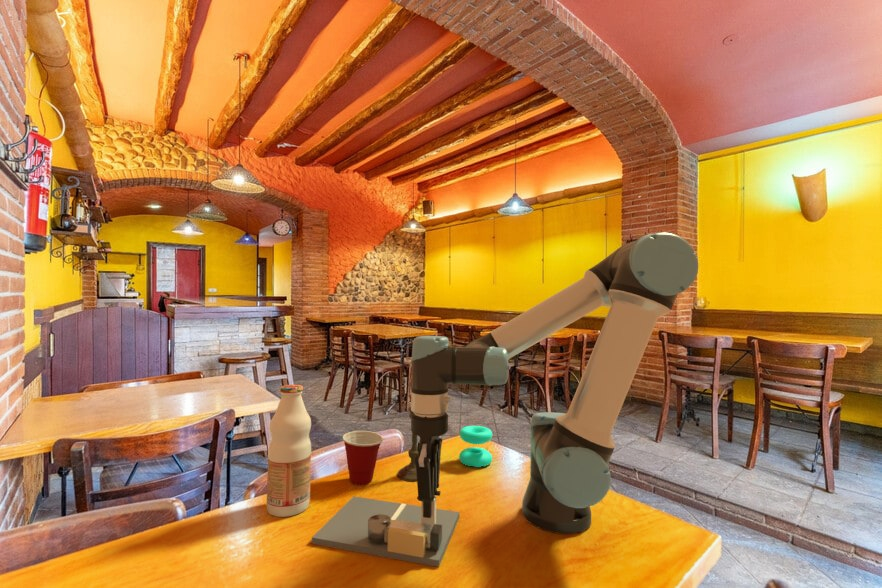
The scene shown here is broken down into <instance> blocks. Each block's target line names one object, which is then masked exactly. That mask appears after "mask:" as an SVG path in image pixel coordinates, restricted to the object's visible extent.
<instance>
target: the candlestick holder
mask: <svg viewBox="0 0 882 588" xmlns="http://www.w3.org/2000/svg"><path fill="white" fill-rule="evenodd" d="M408 411H409V412H410V413H409V416H408V417H409V419H410V420H411V415H412V413H413V412H412V411H411V406H409V407H408ZM418 437H419V436H418V435H415V434H413V433H412V432H411V441H412V442H411V448H410V449H409V450H408V451H407V452H408V457H409V458H410V462H409V463H408V464H406V465H404V466H403V467H402V468H400V469H399V470H398V472H397V477H399V479H401V480H403V481H406V482H417V472H416V465H415V457H416V456H417V457H419V453H418Z"/></svg>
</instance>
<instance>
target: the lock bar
mask: <svg viewBox="0 0 882 588" xmlns="http://www.w3.org/2000/svg"><path fill="white" fill-rule="evenodd" d="M390 527H392V528H398V529H404V530H410V531H416V532H422V533H425V548H429V549H433V550H439V547H440V544H441V542H442V525H438V524H434V525H428V524H421V523H414V522H406V521H399V520H391V518H390V517H389V516H387V515H383V514H378V515H374V516H372V517H370V518H369V519H368V540H369V541H371V542H373V543H383V542H387V543H388V530H389V528H390Z"/></svg>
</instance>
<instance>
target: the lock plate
mask: <svg viewBox="0 0 882 588" xmlns="http://www.w3.org/2000/svg"><path fill="white" fill-rule="evenodd" d="M378 514H383V515H387V516H389V517H390V518H391V520H399V521H406V522H414V523H421V505H414V504H409V503H407V504H406V503H400V502H395V501H393V502H392V501H388V500H387V501H386V500H382V499H373V498H367V497H362V496H361V497H360V496H352V497H351V498H350V499H349V500H348V502H346V503H345V504H344V505H343V506H342V507H341V508H340V509H339V510H338V511H337V512H336V513H335V514H334V515H333V516H331V518H330V519H329V520H328V521H327V522H326V523H325V524H324V525H322V527H321V528H319V530H318V531H316V533H314V535H313V536H312V537H311V544H313V545H316V546H317V545H318V546H323V547H329V548H334V549H338V550H345V551H350V552H355V553H360V554H361V553H362V554H366V555H372V556H378V557H382V558H387V559H391V560H392V559H393V560H398V561H404V562H408V563H414V564H415V563H416V564H421V565H424V566H431V567H437V568H439V567H440V565H441V563H442V560H443V558H444V556H445V553H446V551H447V549H448V546H449V544H450V541H451V539H452V536H453V534H454V532H455V529H456V527H457V524H458V522H459V519H460V511H456V510H455V511H454V510H447V509H440V508H436V524H438V525H442V542H441V544H440V547H439V550H433V549H429V548H425V533H422V532H416V531H410V530H404V529H398V528H392V527H390V528H389V530H388V543H387V542H383V543H373V542H371V541H369V540H368V519H369V518H370V517H372V516H374V515H378Z"/></svg>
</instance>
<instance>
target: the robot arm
mask: <svg viewBox="0 0 882 588" xmlns="http://www.w3.org/2000/svg"><path fill="white" fill-rule="evenodd" d="M698 259H699V258H698V256H697V254H696V253H695V250H694V248H693V246H692V245H691V244H690V243H689V242H688V241H687V240H685V239H684V238H683V237H682V236H679V235H677V234H674V233H669V232H656V233H649V234H645V235H643V236H641V237H639V238H638V239H637V240H633V241H631V242H629V243H625V244H623V245H622V246H620V247H619V248H617V249H615V250H614V251H613V252H611V253H610V254H609V255H608V256H606V257H605V258H604V259H602V260H601V261H599V262H598V263H597V264H594V266H592V267H591V268H589V269H586V271H585V272H584V276H583V277H582V278H581V279H579V280H577V281H575V282H574V283H572V284H570V285H568V286H567V287H565V288H563V289H562V290H559V291H558V292H557V293H555V294H553V295H551V296H549V297H547V298H546V299H544V300H543V301H541V302H539V303H538V304H536V305H534V306H532V307H531V308H529V309H527V310H526V311H524V312H522V313H520V314H519V315H518V316H515V317H513V318H512V319H510V320H508V321H507V322H505V323H504V324H501V325H500V326H498V327H497V328H495V329H493V330H492V331H490V332H489V333H487V334H484V335H483V336H481V337H479V338H477V339H473V340H471V341H470V342H469V343H467V344H466V346H454V345H450V342H449V341H450V340H449V338H448V337H447V336H445V335H442V336H441V335H420V336H417V337H415V338H414V339H412V348H411V349H412V350H411V358H410V361H411V393H410V394H411V395H410V399H411V400H410V407H411V411H412V412H413V413H412V415H411V419H410V431H411V434H412V433H413V434H415V435H417V436H418V437H419V438H420V439H419V442H417V447H418V453H419V457H417V456H416V457H415V465H416V472H417V481H416V484H417V497H416V499H417V500H418V501H419V502H420V503H421V505H420V506H421V524H428V525H434V524H436V509H437V497H439V496H441V491H439V490H438V489H439V487H440V474H441V473H440V472H441V471H440V470H441V455H442V445H443V444H442V443H443V438H441V436H444V435H446V434H447V433H448V431H449V414H448V413H447V412H448V410H449V403H450V402H451V401H452V398H451V397H450V396H448V395H449V384H451V385H479V386H482V385H483V386H486V385H487V386H489V387H492V386H499V385H500V386H501V385H505V384H507V382H508V379H509V359H512V358H513V357H515V356H517V355H518V354H520V353H522V352H523V351H525V350H527V349H529V348H530V347H533V346H535V345H536V344H537V343H540V342H541V341H543V340H545V339H547V338H548V337H550V336H552V335H553V334H555V333H556V332H559V331H560V330H562V329H564V328H565V327H567V326H569V325H571V324H572V323H575V322H576V321H578V320H580V319H581V318H583V317H585V316H586V315H588V314H591V313H592V312H594V311H595V310H597V309H599V308H601V307H606V308H609V310H608V312H607V315H606V317H605V319H604V322H603V325H602V328H601V329H600V331H599V335H598V336H597V339H596V341H595V344H594V347H593V349H592V352H591V354H590V356H589V359H588V361H587V363H586V366H585V369H584V371H583V373H582V376H581V378H580V381H579V383H578V386H577V388H576V391H575V393H574V396H573V398H572V401H571V402H570V406H569V407H568V409H567V412H566V413H565V412H551V411H550V412H548V411H547V412H542V411H541V412H537V413H534V414H533V415H532V416H531V420H530V425H529V428H530V468H529V469H530V475H529V476H530V477H529V481H528V484H527V486H526V487H527V488H526V490H525V493H524V496H523V499H522V504H521V507H522V508H521V509H522V511H521V512H522V516H523V517H524V519H525V520H526V521H527V522H529V524H531V525H532V526H534V527H537V528H539V529H542V530H544V531H547V532H551V533H555V534H567V535H568V534H577V533H581V532H584V531H587V530H588V529H589V528H590V527H591V524H592V510H591V506H592V507H593V506H595V505H597V504H599V503H600V502H601V501H602V500H603V499H604V498H605V497H606V496H607V494H608V492H609V491H610V487H611V484H612V483H611V482H612V480H611V479H612V476H611V471H610V468H609V462H610V461H611V458H612V456H613V453H614V451H615V448H616V443H615V441H614V439H613V436H612V431H613V429H614V426H615V424H616V422H617V419H618V417H619V415H620V411H621V410H622V408H623V405H624V402H625V400H626V397H627V395H628V392H629V390H630V387H631V385H632V382H633V380H634V378H635V377H636V376H635V375H636V373H637V370H638V368H639V366H640V364H641V360H642V358H643V356H644V353H645V351H646V349H647V347H648V343H649V341H650V339H651V336H652V334H653V331H654V329H655V326H656V324H657V322H658V320H659V319H660V318H661V317H663V316H665V315H669V314H670V313H671V311H672V309H673V307H674V305H675V303H676V300H677V298H678V295H679V294H681V293H683V292H685V291H687V290H688V289H689V288H690V287H691V286H692V285H693V284H694V282H695V280H696V278H697V277H698V273H699V260H698Z"/></svg>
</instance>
